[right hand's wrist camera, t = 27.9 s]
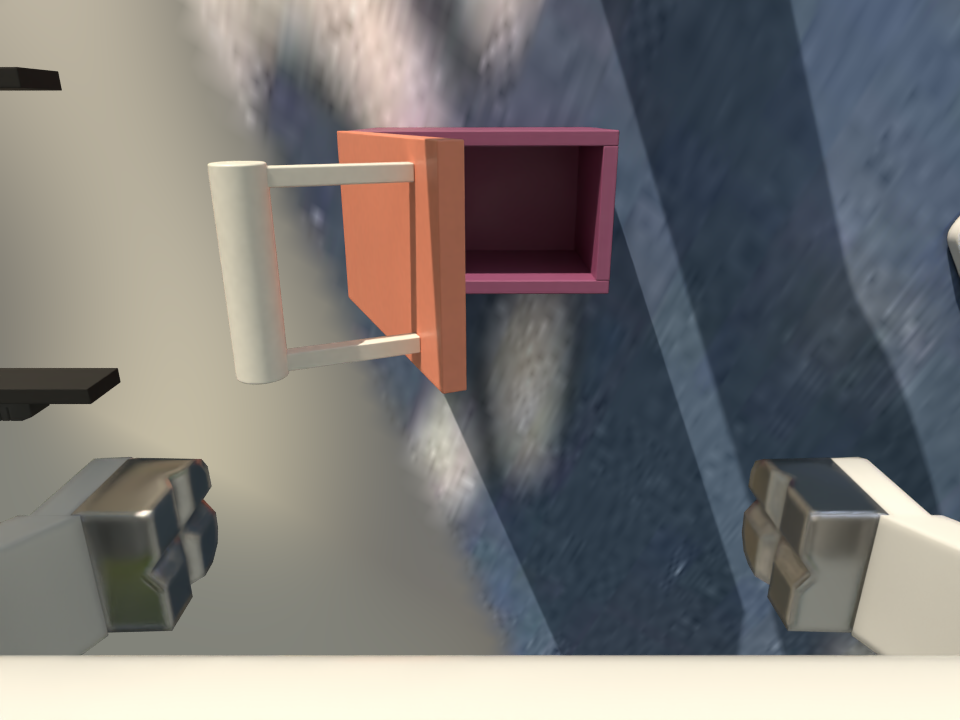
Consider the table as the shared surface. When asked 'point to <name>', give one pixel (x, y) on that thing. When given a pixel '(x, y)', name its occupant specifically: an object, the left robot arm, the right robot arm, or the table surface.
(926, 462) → the table surface
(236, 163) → the lid
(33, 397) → the left robot arm
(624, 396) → the table surface
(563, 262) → the chest
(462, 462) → the table surface
